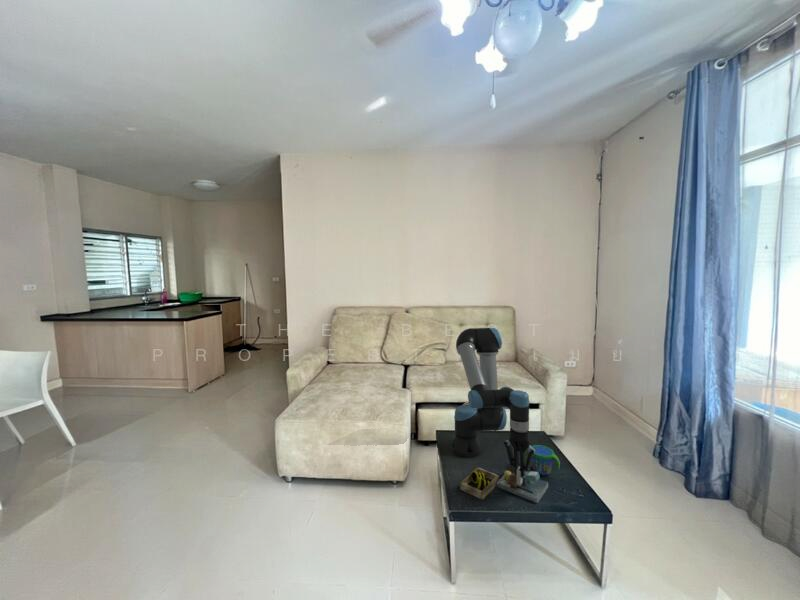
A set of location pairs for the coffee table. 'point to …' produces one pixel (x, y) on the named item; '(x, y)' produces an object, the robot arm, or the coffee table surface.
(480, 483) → the opera glasses
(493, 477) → the wooden tray
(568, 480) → the coffee table surface
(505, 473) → the ochre button
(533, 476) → the block
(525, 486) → the panel
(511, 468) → the dark grey block
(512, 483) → the brown rectangular block
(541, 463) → the snack cup
